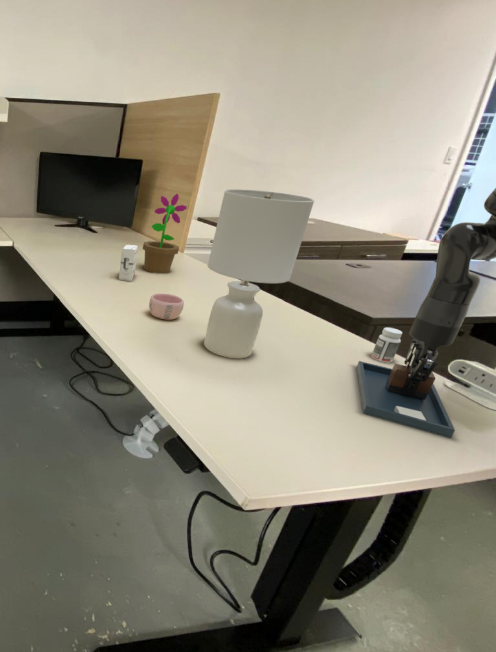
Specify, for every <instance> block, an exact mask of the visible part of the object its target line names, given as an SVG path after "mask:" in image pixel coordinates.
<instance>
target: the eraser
mask: <svg viewBox="0 0 496 652" xmlns="http://www.w3.org/2000/svg"><path fill="white" fill-rule="evenodd" d="M391 369H392V371H391V373H390V375H389V378H388V380H387V382H386V387H387V390H388V391H392V392H396V393H400V394H404V395H407V396H411V397H415V398H419V399H423V400H425V399H426V397H427V395H428V393H429V391H430V389H431V387H432V385H433V384H434V383H435V381H436V376H435V375H434V372H433V371H432V372H431V374H430V375H429V377H428V378H427V380H426V381H425V382H423V381H420V384H419V386H418V388H417V390H416V392H415V394H414V395H409V394H405V393H403V392H402V389H403V387H404V385H405V382H406V380H407V378H408V374H409V372H410V370H411V367H408V366H406V365H405V364H400V363H394V364H393V366H392V368H391ZM418 375H421V373H418Z"/></svg>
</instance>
